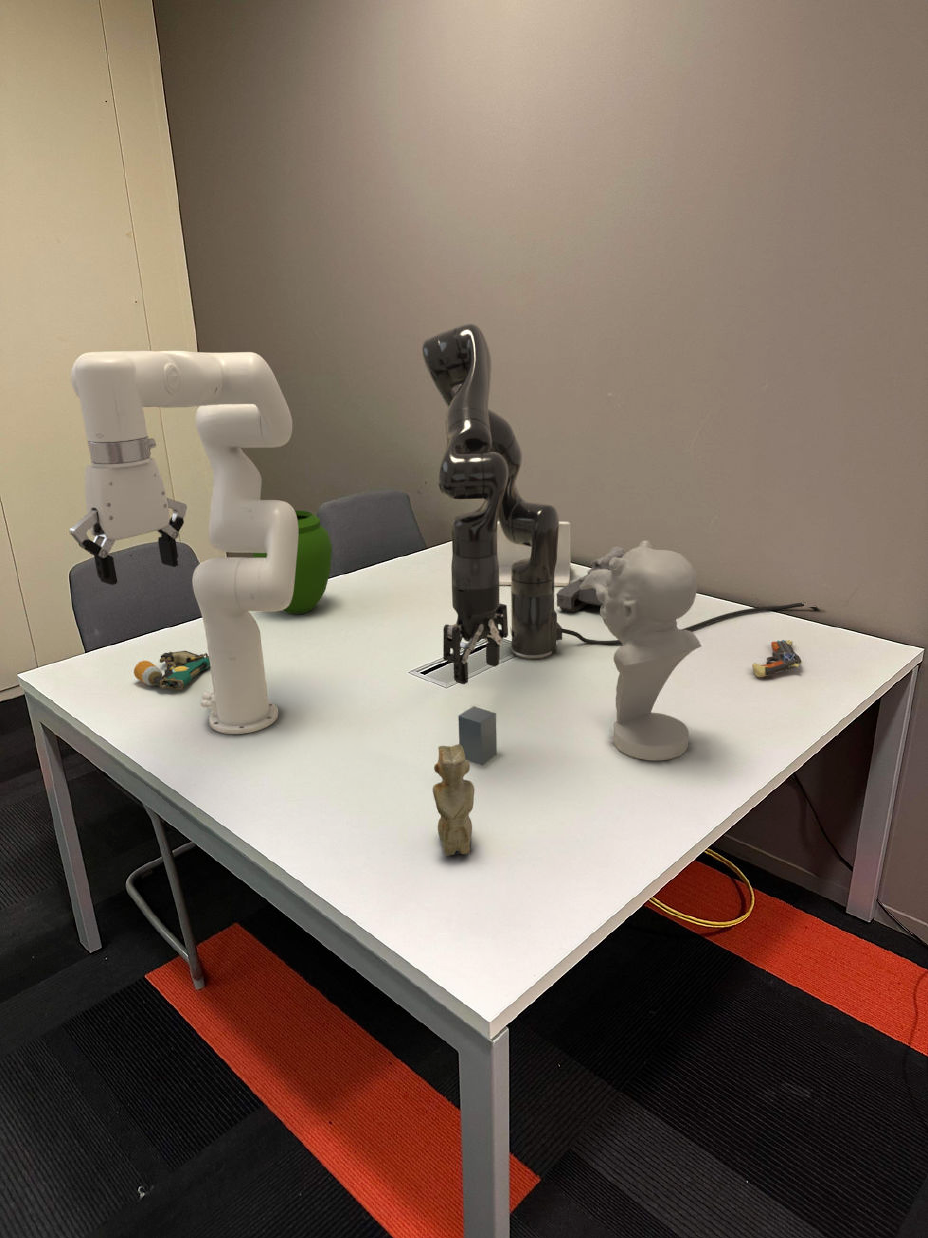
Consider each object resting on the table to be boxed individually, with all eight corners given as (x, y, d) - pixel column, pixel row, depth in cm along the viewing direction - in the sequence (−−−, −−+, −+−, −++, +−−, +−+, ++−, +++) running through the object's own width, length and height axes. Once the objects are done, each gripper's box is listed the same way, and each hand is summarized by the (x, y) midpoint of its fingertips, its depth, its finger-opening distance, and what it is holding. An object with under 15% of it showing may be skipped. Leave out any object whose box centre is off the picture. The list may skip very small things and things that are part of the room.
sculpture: (474, 829, 125) (472, 739, 120) (477, 859, 119) (474, 765, 113) (434, 831, 125) (430, 741, 120) (435, 861, 119) (431, 767, 113)
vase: (352, 603, 220) (345, 511, 212) (301, 627, 205) (291, 529, 197) (296, 592, 230) (287, 503, 222) (243, 614, 215) (231, 520, 206)
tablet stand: (569, 585, 229) (570, 524, 223) (476, 584, 232) (475, 523, 226) (570, 566, 246) (571, 508, 240) (484, 564, 249) (483, 507, 243)
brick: (474, 747, 149) (473, 705, 146) (497, 755, 146) (496, 713, 143) (459, 757, 146) (458, 715, 143) (481, 765, 143) (480, 723, 140)
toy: (603, 584, 229) (605, 530, 224) (673, 597, 218) (677, 540, 213) (555, 612, 210) (556, 553, 205) (630, 627, 199) (633, 566, 194)
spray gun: (177, 659, 191) (231, 671, 185) (120, 684, 176) (176, 698, 171) (176, 641, 190) (230, 653, 184) (118, 665, 175) (174, 678, 169)
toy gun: (755, 668, 170) (808, 665, 168) (743, 639, 188) (791, 635, 186) (755, 681, 171) (808, 678, 169) (744, 650, 189) (791, 647, 187)
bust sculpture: (625, 695, 166) (632, 519, 153) (713, 748, 146) (730, 550, 133) (556, 715, 159) (558, 532, 146) (639, 773, 139) (650, 567, 127)
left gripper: (159, 441, 123) (177, 555, 129) (43, 460, 110) (68, 585, 116) (191, 445, 119) (207, 562, 125) (73, 465, 106) (98, 595, 112)
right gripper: (483, 565, 142) (484, 654, 148) (428, 587, 132) (432, 683, 137) (520, 572, 138) (520, 664, 143) (466, 596, 127) (469, 694, 133)
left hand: (140, 573), depth 121 cm, fingers open, 9 cm apart
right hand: (477, 673), depth 140 cm, fingers open, 8 cm apart
